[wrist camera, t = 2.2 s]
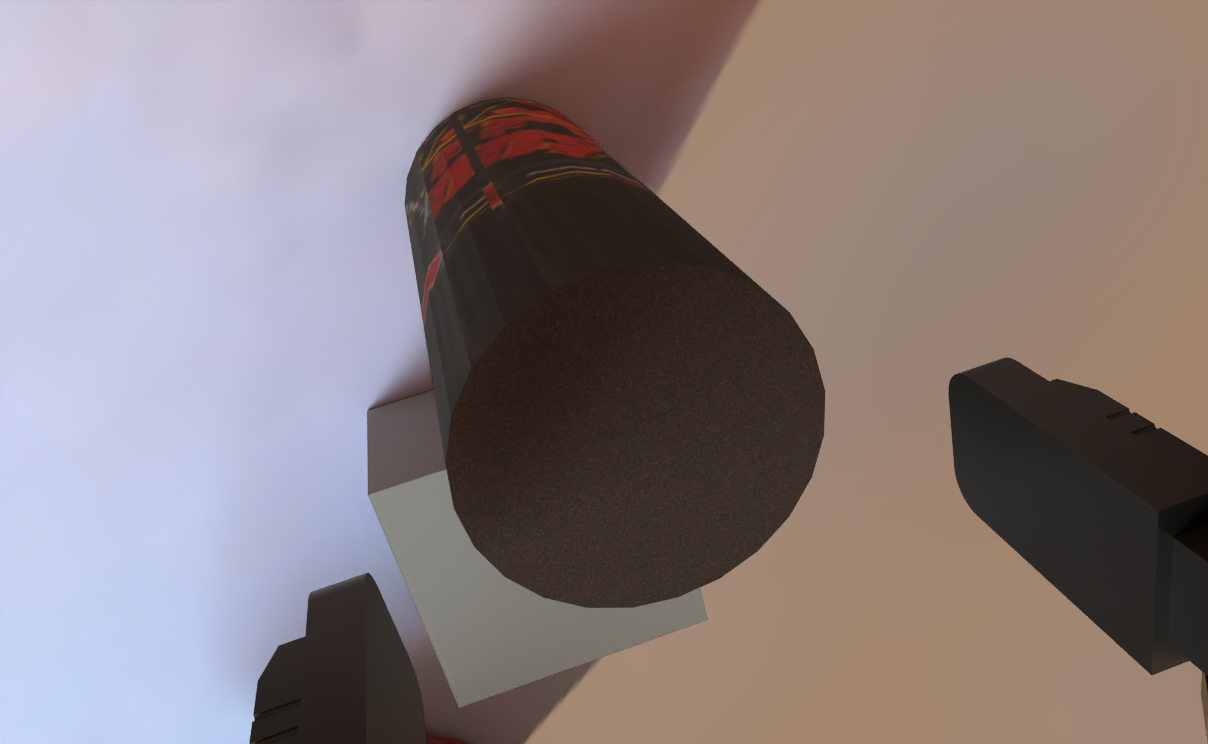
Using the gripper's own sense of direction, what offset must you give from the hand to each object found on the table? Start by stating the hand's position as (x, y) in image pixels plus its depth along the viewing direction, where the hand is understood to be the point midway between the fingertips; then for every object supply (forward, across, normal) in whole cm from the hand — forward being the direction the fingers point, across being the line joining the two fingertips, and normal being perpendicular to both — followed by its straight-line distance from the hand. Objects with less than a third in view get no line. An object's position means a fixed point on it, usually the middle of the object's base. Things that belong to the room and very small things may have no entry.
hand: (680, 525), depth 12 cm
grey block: (+17, +2, +9) cm, 19 cm away
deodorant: (+17, 0, 0) cm, 17 cm away
